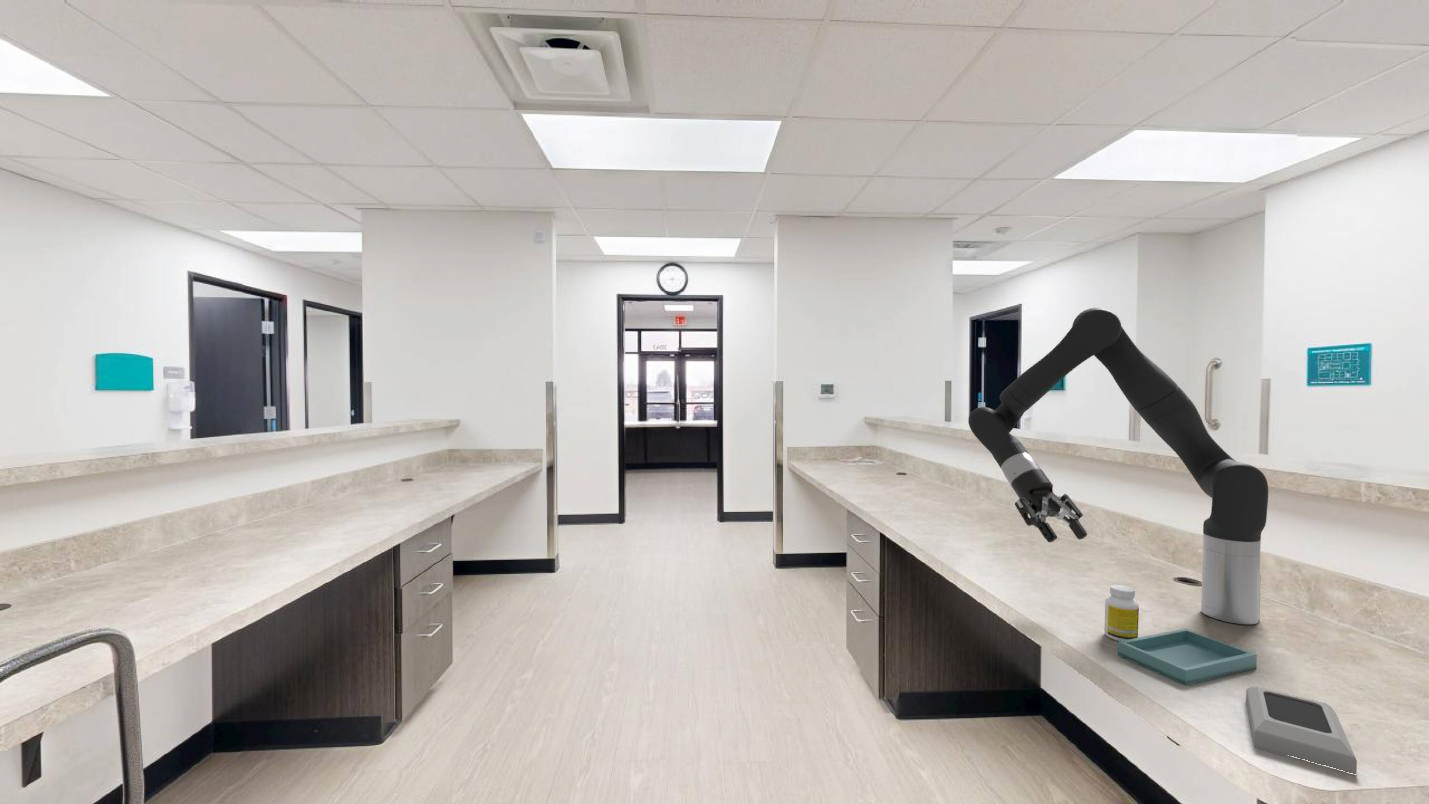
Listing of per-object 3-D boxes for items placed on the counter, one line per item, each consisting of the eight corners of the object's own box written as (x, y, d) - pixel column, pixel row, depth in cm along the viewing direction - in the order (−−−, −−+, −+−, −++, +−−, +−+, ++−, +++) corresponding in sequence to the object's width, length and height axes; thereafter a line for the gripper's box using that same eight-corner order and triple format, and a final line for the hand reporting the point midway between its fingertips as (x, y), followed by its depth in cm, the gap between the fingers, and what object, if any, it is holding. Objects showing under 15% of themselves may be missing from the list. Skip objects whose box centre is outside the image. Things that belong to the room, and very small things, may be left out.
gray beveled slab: (1254, 723, 80) (1246, 680, 92) (1253, 749, 80) (1245, 703, 92) (1357, 750, 74) (1334, 701, 86) (1356, 779, 74) (1333, 725, 86)
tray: (1185, 641, 113) (1185, 628, 113) (1256, 668, 103) (1256, 654, 102) (1117, 654, 108) (1117, 641, 107) (1185, 685, 97) (1186, 670, 97)
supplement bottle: (1143, 644, 112) (1144, 593, 112) (1112, 642, 113) (1113, 591, 113) (1129, 632, 117) (1130, 584, 117) (1099, 630, 118) (1100, 582, 118)
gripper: (1011, 468, 131) (1054, 532, 121) (1059, 466, 136) (1105, 527, 125) (992, 488, 136) (1032, 550, 126) (1039, 485, 141) (1081, 545, 131)
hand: (1068, 538), depth 126 cm, fingers open, 8 cm apart
